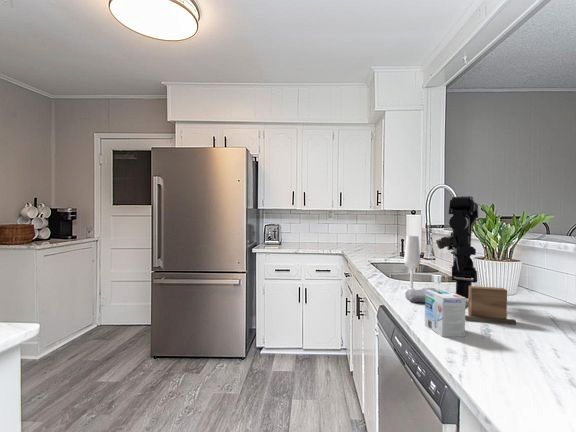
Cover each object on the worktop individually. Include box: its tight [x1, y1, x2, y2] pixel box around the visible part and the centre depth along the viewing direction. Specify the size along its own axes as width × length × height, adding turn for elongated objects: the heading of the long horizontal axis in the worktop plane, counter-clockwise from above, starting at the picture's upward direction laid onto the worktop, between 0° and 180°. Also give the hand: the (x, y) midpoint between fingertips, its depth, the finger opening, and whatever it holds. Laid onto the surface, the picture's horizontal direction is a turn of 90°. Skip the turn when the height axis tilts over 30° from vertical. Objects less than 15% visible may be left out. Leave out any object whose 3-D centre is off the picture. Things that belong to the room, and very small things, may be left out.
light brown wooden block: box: [467, 285, 508, 319], centre depth 112 cm, size 4×10×10 cm, turn 75°
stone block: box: [404, 287, 438, 303], centre depth 134 cm, size 12×5×10 cm
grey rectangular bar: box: [465, 314, 517, 326], centre depth 109 cm, size 2×14×1 cm, turn 75°
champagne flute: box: [403, 235, 421, 293], centre depth 149 cm, size 7×7×24 cm
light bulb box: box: [424, 289, 467, 338], centre depth 100 cm, size 11×7×11 cm, turn 5°
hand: (460, 271), depth 132 cm, fingers closed
